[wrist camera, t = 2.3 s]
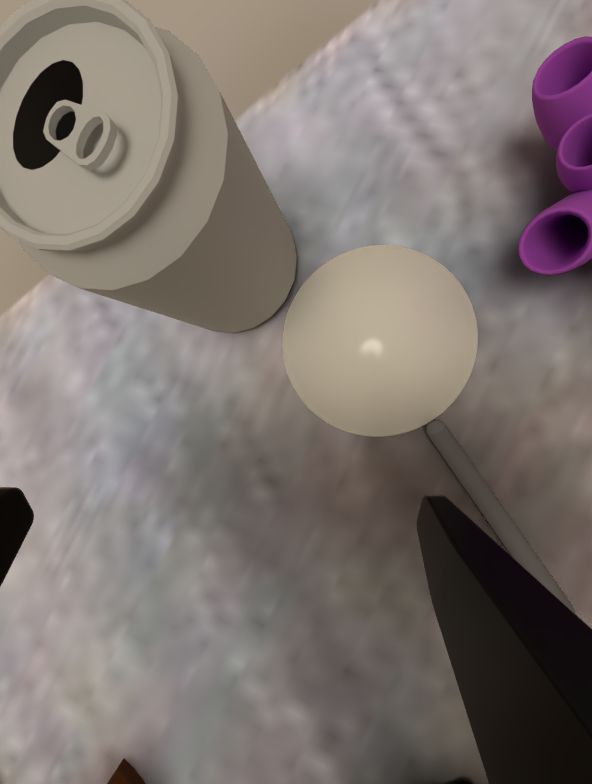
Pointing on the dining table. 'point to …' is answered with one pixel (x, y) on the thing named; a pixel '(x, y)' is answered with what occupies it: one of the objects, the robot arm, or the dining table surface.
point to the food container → (125, 775)
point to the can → (134, 169)
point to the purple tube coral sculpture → (564, 161)
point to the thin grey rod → (491, 507)
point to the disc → (380, 340)
